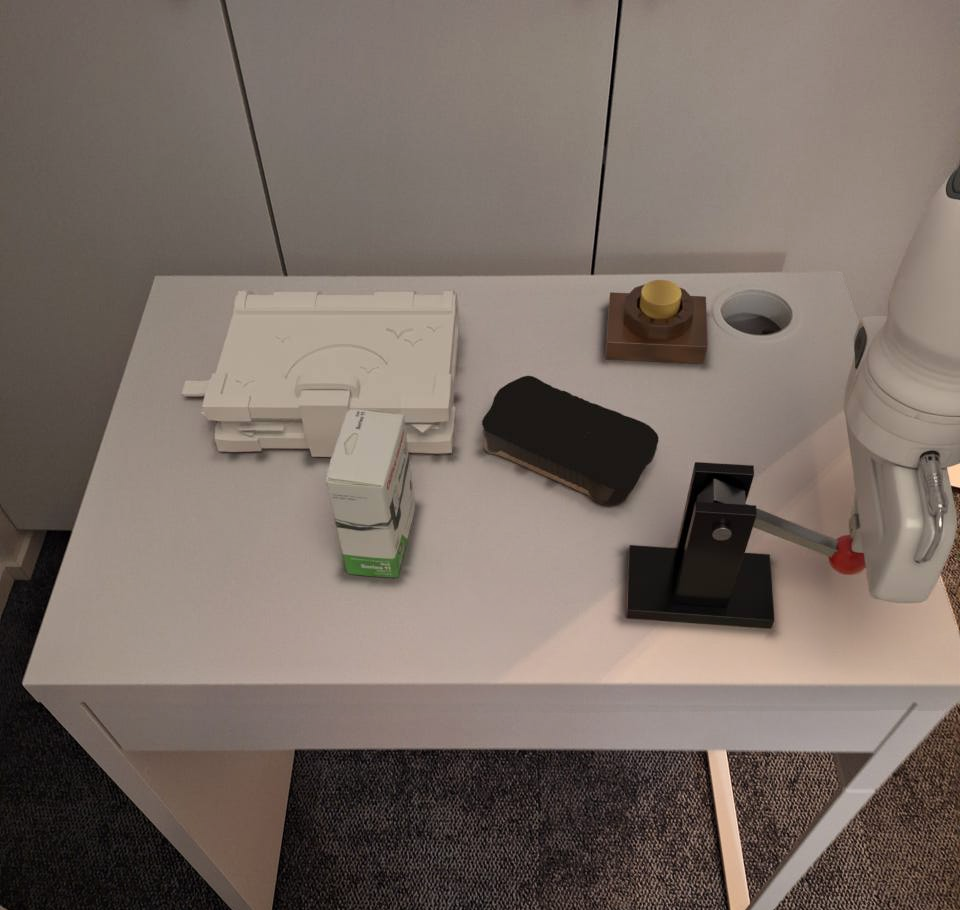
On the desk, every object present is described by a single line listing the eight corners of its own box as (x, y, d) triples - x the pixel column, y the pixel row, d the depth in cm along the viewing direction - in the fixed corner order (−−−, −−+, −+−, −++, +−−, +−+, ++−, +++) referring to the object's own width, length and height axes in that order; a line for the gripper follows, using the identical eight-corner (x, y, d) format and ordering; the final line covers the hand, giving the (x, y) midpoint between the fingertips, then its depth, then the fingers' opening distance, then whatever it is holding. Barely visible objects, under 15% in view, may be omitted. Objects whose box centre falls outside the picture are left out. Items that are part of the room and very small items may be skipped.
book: (206, 330, 102) (186, 268, 96) (466, 330, 100) (462, 267, 94) (166, 462, 91) (140, 402, 85) (455, 464, 90) (451, 403, 84)
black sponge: (663, 460, 89) (668, 432, 86) (619, 518, 86) (623, 490, 83) (518, 397, 95) (517, 368, 92) (470, 449, 91) (468, 421, 88)
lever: (849, 556, 78) (877, 534, 75) (853, 587, 76) (882, 566, 73) (693, 494, 74) (717, 469, 71) (693, 526, 72) (718, 501, 69)
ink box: (399, 580, 83) (383, 487, 73) (344, 574, 83) (321, 481, 73) (418, 505, 87) (405, 408, 77) (366, 500, 88) (347, 403, 78)
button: (679, 295, 97) (681, 280, 95) (679, 320, 95) (681, 305, 93) (639, 293, 97) (641, 278, 96) (639, 318, 95) (640, 303, 94)
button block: (702, 313, 101) (709, 281, 97) (703, 364, 96) (710, 332, 93) (608, 309, 102) (611, 277, 98) (605, 359, 97) (608, 327, 94)
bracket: (767, 562, 82) (804, 458, 72) (771, 629, 79) (811, 529, 68) (628, 553, 83) (644, 449, 73) (625, 618, 80) (643, 518, 69)
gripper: (1002, 528, 56) (921, 654, 67) (949, 306, 67) (887, 446, 78) (891, 521, 56) (829, 647, 68) (857, 302, 68) (809, 442, 79)
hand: (860, 538), depth 73 cm, fingers closed
